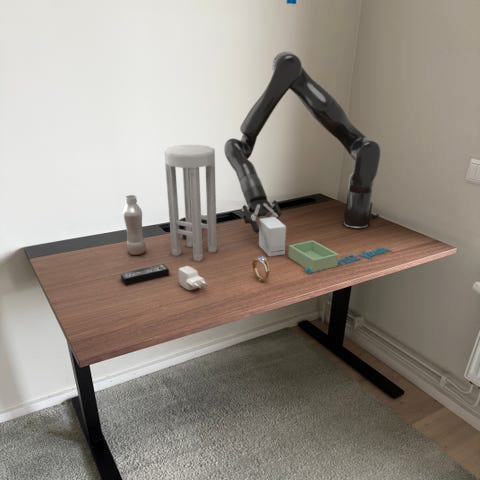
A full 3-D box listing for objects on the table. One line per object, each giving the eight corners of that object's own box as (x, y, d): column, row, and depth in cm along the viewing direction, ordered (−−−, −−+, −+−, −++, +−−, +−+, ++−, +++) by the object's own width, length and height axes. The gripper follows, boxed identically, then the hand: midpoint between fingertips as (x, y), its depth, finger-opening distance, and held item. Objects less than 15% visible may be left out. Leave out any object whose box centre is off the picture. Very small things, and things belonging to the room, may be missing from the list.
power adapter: (211, 294, 141) (210, 276, 138) (197, 299, 138) (197, 280, 135) (190, 281, 148) (189, 263, 145) (177, 285, 145) (175, 268, 142)
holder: (312, 251, 169) (313, 240, 167) (337, 266, 158) (339, 254, 156) (288, 257, 164) (288, 245, 162) (312, 272, 154) (313, 260, 152)
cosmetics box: (257, 245, 173) (258, 218, 168) (274, 243, 175) (275, 216, 169) (268, 256, 164) (269, 227, 159) (285, 254, 166) (287, 225, 161)
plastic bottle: (150, 251, 168) (144, 195, 158) (139, 258, 163) (132, 200, 153) (135, 248, 170) (128, 192, 160) (123, 255, 165) (116, 198, 155)
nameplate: (392, 252, 168) (382, 248, 172) (393, 250, 168) (382, 246, 172) (310, 275, 152) (301, 269, 156) (310, 273, 152) (301, 267, 156)
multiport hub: (121, 279, 148) (120, 273, 147) (164, 270, 155) (163, 263, 154) (125, 285, 145) (124, 278, 144) (169, 275, 151) (169, 268, 150)
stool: (189, 241, 176) (184, 142, 159) (224, 249, 170) (223, 147, 152) (163, 255, 165) (154, 150, 147) (200, 264, 158) (196, 156, 140)
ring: (270, 283, 147) (271, 259, 143) (262, 285, 145) (262, 261, 141) (258, 275, 152) (259, 251, 148) (250, 277, 151) (250, 253, 146)
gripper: (239, 186, 164) (255, 228, 162) (273, 181, 170) (289, 222, 168) (231, 198, 171) (247, 238, 168) (265, 192, 177) (280, 231, 174)
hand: (268, 230), depth 168 cm, fingers open, 8 cm apart
